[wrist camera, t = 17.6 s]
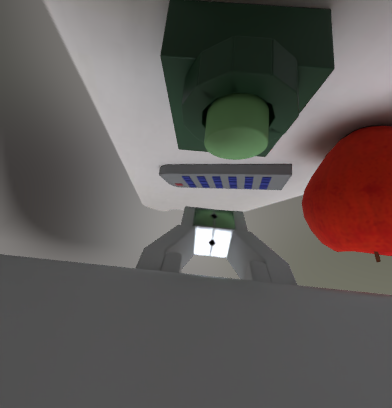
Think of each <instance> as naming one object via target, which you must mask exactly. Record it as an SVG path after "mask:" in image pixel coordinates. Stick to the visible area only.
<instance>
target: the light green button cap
mask: <svg viewBox="0 0 392 408" xmlns="http://www.w3.org/2000/svg"><path fill="white" fill-rule="evenodd" d="M268 135H269V108H268V106H267V104H266V102H265V101H264V100H263V99H261V98H260V97H258V96H256V95H254V94H244V93H232V94H229V95H226V96H223V97H220V98H218V99H217V100H215V101H214V102H213V103H212V104H211V105H210V107H209V109H208V111H207V118H206V129H205V139H204V145H205V148H206V149H207V151H208V152H210V153H211V154H213V155H215V156H217V157H220V158H224V159H233V160H237V159H246V158H251V157H254V156H256V155H258V154H260V153H262V152H263V151H264V150H265V149H266V147H267V145H268Z"/></svg>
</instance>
